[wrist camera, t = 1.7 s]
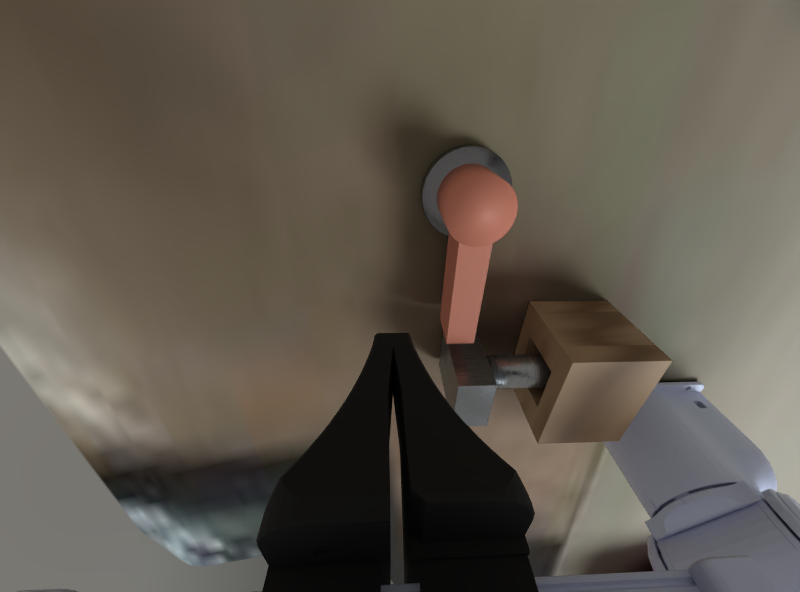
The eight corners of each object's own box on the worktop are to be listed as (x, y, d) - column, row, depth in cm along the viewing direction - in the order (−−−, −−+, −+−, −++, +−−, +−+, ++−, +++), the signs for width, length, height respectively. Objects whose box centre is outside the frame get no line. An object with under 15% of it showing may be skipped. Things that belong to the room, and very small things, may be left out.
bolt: (588, 324, 24) (639, 382, 20) (572, 361, 27) (614, 421, 22) (443, 326, 24) (458, 386, 19) (439, 364, 26) (451, 426, 21)
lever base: (515, 145, 18) (521, 147, 17) (498, 233, 20) (502, 237, 20) (423, 144, 17) (425, 146, 17) (419, 233, 20) (420, 237, 19)
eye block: (607, 300, 24) (672, 361, 18) (573, 374, 28) (618, 441, 23) (529, 301, 23) (573, 362, 18) (508, 376, 28) (537, 443, 22)
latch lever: (504, 163, 17) (525, 175, 15) (476, 316, 23) (487, 343, 20) (439, 163, 17) (449, 174, 14) (427, 316, 23) (432, 344, 20)
